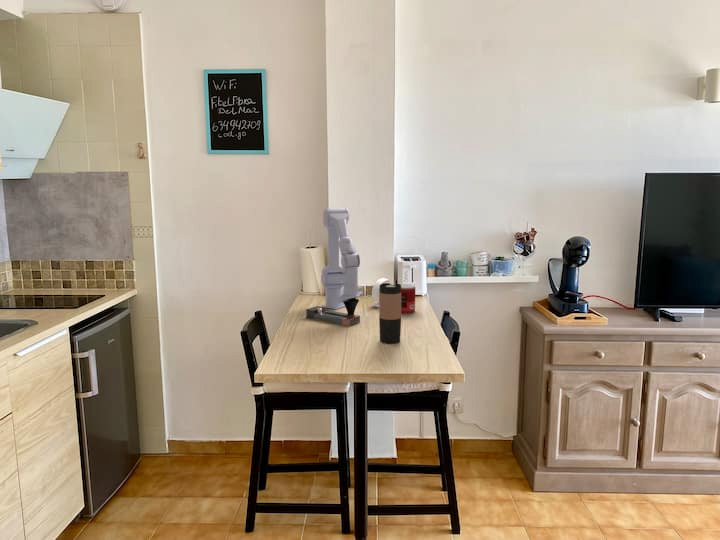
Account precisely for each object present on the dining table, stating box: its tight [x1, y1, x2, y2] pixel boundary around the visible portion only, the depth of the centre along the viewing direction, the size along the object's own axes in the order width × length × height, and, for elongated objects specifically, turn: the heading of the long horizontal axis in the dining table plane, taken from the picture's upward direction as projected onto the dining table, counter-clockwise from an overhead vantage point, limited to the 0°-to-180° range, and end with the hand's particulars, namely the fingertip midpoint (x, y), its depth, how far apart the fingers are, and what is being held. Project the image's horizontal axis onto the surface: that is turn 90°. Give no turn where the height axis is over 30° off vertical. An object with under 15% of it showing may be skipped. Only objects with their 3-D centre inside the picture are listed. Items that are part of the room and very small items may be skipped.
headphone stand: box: [371, 277, 390, 308], centre depth 246 cm, size 5×6×12 cm
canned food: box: [400, 283, 416, 314], centre depth 237 cm, size 8×8×11 cm
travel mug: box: [378, 282, 402, 345], centre depth 194 cm, size 8×8×20 cm
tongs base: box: [305, 305, 355, 327], centre depth 223 cm, size 22×7×4 cm, turn 54°
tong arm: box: [325, 309, 361, 325], centre depth 223 cm, size 16×3×3 cm, turn 54°
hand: (350, 316), depth 223 cm, fingers closed
